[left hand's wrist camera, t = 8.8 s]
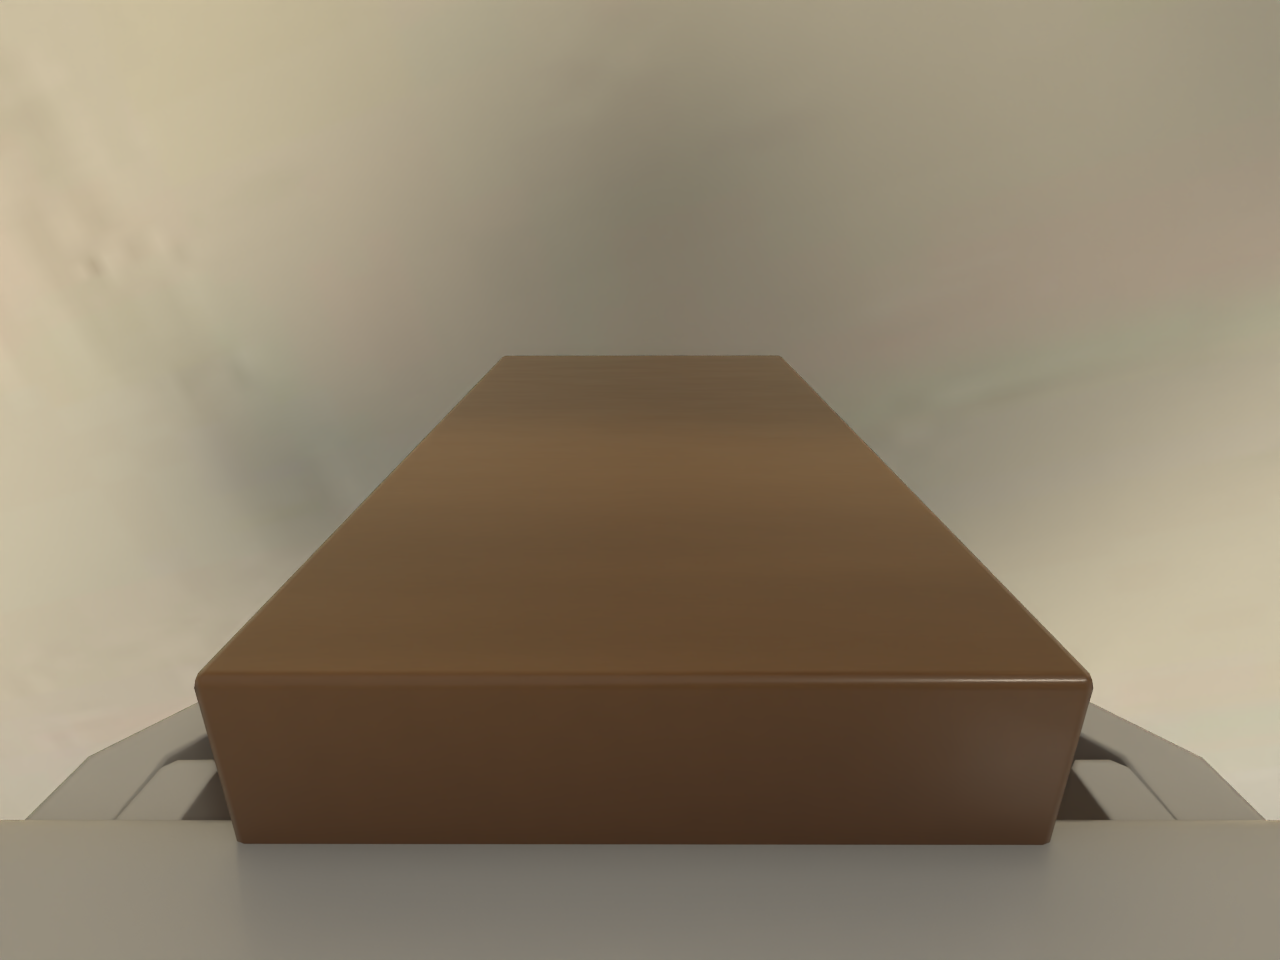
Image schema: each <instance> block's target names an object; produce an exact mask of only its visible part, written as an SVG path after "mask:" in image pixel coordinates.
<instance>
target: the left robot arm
mask: <svg viewBox="0 0 1280 960" xmlns="http://www.w3.org/2000/svg"><path fill="white" fill-rule="evenodd" d="M0 960H1280V820H1265V819H1264V818H1263V817H1262V816H1261V815H1260V814H1259V813H1258V812H1257V811H1256V810H1255V809H1254V808H1253V807H1252V806H1251V805H1250V804H1249V803H1248V802H1247V801H1246V800H1245V799H1244V798H1243V797H1242V796H1241V795H1240V794H1239V793H1238V792H1237V791H1236V790H1235V789H1234V788H1233V787H1232V786H1231V785H1230V784H1229V783H1228V782H1227V781H1225V780H1224V779H1223V778H1222V777H1221V776H1220V775H1219V774H1218V773H1217V772H1216V771H1215V770H1214V769H1213V768H1212V767H1211V766H1210V765H1209V764H1208V763H1207V762H1206V761H1205V760H1204V759H1203V758H1202V757H1200V756H1198V755H1196V754H1193V753H1191V752H1189V751H1187V750H1185V749H1183V748H1181V747H1179V746H1177V745H1175V744H1173V743H1171V742H1169V741H1167V740H1165V739H1163V738H1161V737H1159V736H1157V735H1155V734H1153V733H1151V732H1149V731H1147V730H1145V729H1143V728H1141V727H1139V726H1137V725H1135V724H1133V723H1131V722H1129V721H1127V720H1125V719H1123V718H1121V717H1119V716H1117V715H1115V714H1113V713H1111V712H1109V711H1107V710H1105V709H1103V708H1101V707H1098V706H1096V705H1094V704H1092V703H1090V702H1089V705H1088V708H1087V712H1086V716H1085V719H1084V723H1083V726H1082V730H1081V733H1080V737H1079V740H1078V744H1077V748H1076V751H1075V755H1074V758H1073V762H1072V765H1071V769H1070V772H1069V776H1068V780H1067V783H1066V787H1065V790H1064V794H1063V797H1062V801H1061V804H1060V808H1059V811H1058V815H1057V819H1056V822H1055V826H1054V829H1053V833H1052V836H1051V840H1050V842H1049V843H1047V844H1044V845H686V844H243V843H241V842H238V841H237V839H236V835H235V832H234V828H233V825H232V821H231V817H230V814H229V810H228V807H227V803H226V800H225V796H224V792H223V789H222V785H221V782H220V778H219V775H218V771H217V767H216V764H215V760H214V757H213V753H212V750H211V746H210V742H209V739H208V735H207V732H206V728H205V725H204V721H203V717H202V714H201V710H200V707H199V703H196V704H194V705H192V706H190V707H188V708H186V709H184V710H182V711H180V712H178V713H176V714H174V715H172V716H170V717H168V718H166V719H164V720H162V721H160V722H158V723H156V724H154V725H152V726H150V727H148V728H146V729H144V730H142V731H140V732H138V733H135V734H133V735H131V736H129V737H127V738H125V739H123V740H121V741H119V742H117V743H115V744H113V745H111V746H109V747H107V748H105V749H103V750H101V751H99V752H97V753H95V754H93V755H91V756H89V757H88V758H87V759H86V760H85V761H84V762H83V763H82V764H81V765H80V766H79V767H78V768H77V769H76V770H75V771H74V772H73V773H72V774H71V775H70V776H69V777H68V778H67V779H66V780H65V781H64V782H63V783H62V784H61V785H60V786H59V787H58V788H57V789H56V790H55V791H54V792H53V793H52V794H51V795H50V796H49V797H48V798H47V799H46V800H45V801H44V802H43V803H41V804H40V805H39V806H38V807H37V808H36V809H35V810H34V811H33V812H32V813H31V814H30V815H29V816H28V817H27V818H26V819H25V820H0Z"/></svg>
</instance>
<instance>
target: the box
mask: <svg viewBox="0 0 1280 960" xmlns="http://www.w3.org/2000/svg"><path fill="white" fill-rule="evenodd" d="M194 689H195V692H196V696H197V700H198V703H199V707H200V710H201V714H202V717H203V721H204V725H205V728H206V732H207V735H208V739H209V742H210V746H211V750H212V753H213V757H214V760H215V764H216V767H217V771H218V775H219V778H220V782H221V785H222V789H223V792H224V796H225V800H226V803H227V807H228V810H229V814H230V817H231V821H232V825H233V828H234V832H235V835H236V839H237V841H238V842H241V843H243V844H686V845H1044V844H1047V843H1049V842H1050V840H1051V836H1052V833H1053V829H1054V826H1055V822H1056V819H1057V815H1058V811H1059V808H1060V804H1061V801H1062V797H1063V794H1064V790H1065V787H1066V783H1067V780H1068V776H1069V772H1070V769H1071V765H1072V762H1073V758H1074V755H1075V751H1076V748H1077V744H1078V740H1079V737H1080V733H1081V730H1082V726H1083V723H1084V719H1085V716H1086V712H1087V708H1088V705H1089V701H1090V698H1091V694H1092V691H1093V683H1092V679H1091V676H1090V674H1089V673H1088V672H1087V670H1086V669H1085V668H1084V667H1083V666H1082V665H1081V664H1080V663H1079V662H1078V661H1077V660H1076V659H1075V658H1074V657H1073V656H1072V655H1071V654H1070V653H1069V652H1068V651H1067V650H1066V649H1065V648H1064V647H1063V646H1062V645H1061V644H1060V643H1059V642H1058V641H1057V640H1056V639H1055V638H1054V637H1053V636H1052V635H1051V633H1050V632H1049V631H1048V630H1047V629H1046V628H1045V627H1044V626H1043V625H1042V624H1041V623H1040V622H1039V621H1038V620H1037V619H1036V618H1035V617H1034V616H1033V615H1032V614H1031V613H1030V612H1029V611H1028V610H1027V609H1026V608H1025V607H1024V606H1023V605H1022V604H1021V603H1020V602H1019V601H1018V600H1017V599H1016V598H1015V596H1014V595H1013V594H1012V593H1011V592H1010V591H1009V590H1008V589H1007V588H1006V587H1005V586H1004V585H1003V584H1002V583H1001V582H1000V581H999V580H998V579H997V578H996V577H995V576H994V575H993V574H992V573H991V572H990V571H989V570H988V569H987V568H986V567H985V566H984V565H983V564H982V563H981V562H980V561H979V560H978V558H977V557H976V556H975V555H974V554H973V553H972V552H971V551H970V550H969V549H968V548H967V547H966V546H965V545H964V544H963V543H962V542H961V541H960V540H959V539H958V538H957V537H956V536H955V535H954V534H953V533H952V532H951V531H950V530H949V529H948V528H947V527H946V526H945V525H944V524H943V523H942V521H941V520H940V519H939V518H938V517H937V516H936V515H935V514H934V513H933V512H932V511H931V510H930V509H929V508H928V507H927V506H926V505H925V504H924V503H923V502H922V501H921V500H920V499H919V498H918V497H917V496H916V495H915V494H914V493H913V492H912V491H911V490H910V489H909V488H908V487H907V486H906V484H905V483H904V482H903V481H902V480H901V479H900V478H899V477H898V476H897V475H896V474H895V473H894V472H893V471H892V470H891V469H890V468H889V467H888V466H887V465H886V464H885V463H884V462H883V461H882V460H881V459H880V458H879V457H878V456H877V455H876V454H875V453H874V452H873V451H872V450H871V449H870V448H869V446H868V445H867V444H866V443H865V442H864V441H863V440H862V439H861V438H860V437H859V436H858V435H857V434H856V433H855V432H854V431H853V430H852V429H851V428H850V427H849V426H848V425H847V424H846V423H845V422H844V421H843V420H842V419H841V418H840V417H839V416H838V415H837V414H836V413H835V412H834V411H833V409H832V408H831V407H830V406H829V405H828V404H827V403H826V402H825V401H824V400H823V399H822V398H821V397H820V396H819V395H818V394H817V393H816V392H815V391H814V390H813V389H812V388H811V387H810V386H809V385H808V384H807V383H806V382H805V381H804V380H803V379H802V378H801V377H800V376H799V375H798V374H797V372H796V371H795V370H794V369H793V368H792V367H791V366H790V365H789V364H788V363H787V362H786V361H785V360H784V359H783V358H782V357H780V356H504V357H502V358H501V359H500V360H499V361H498V363H497V364H496V365H495V366H494V367H493V368H492V369H491V370H490V371H489V372H488V373H487V374H486V375H485V376H484V377H483V378H482V379H481V380H480V381H479V382H478V383H477V384H476V385H475V386H474V387H473V388H472V389H471V391H470V392H469V393H468V394H467V395H466V396H465V397H464V398H463V399H462V400H461V401H460V402H459V403H458V404H457V405H456V406H455V407H454V408H453V409H452V410H451V411H450V412H449V413H448V414H447V415H446V416H445V418H444V419H443V420H442V421H441V422H440V423H439V424H438V425H437V426H436V427H435V428H434V429H433V430H432V431H431V432H430V433H429V434H428V435H427V436H426V437H425V438H424V439H423V440H422V441H421V442H420V443H419V445H418V446H417V447H416V448H415V449H414V450H413V451H412V452H411V453H410V454H409V455H408V456H407V457H406V458H405V459H404V460H403V461H402V462H401V463H400V464H399V465H398V466H397V467H396V468H395V469H394V470H393V471H392V473H391V474H390V475H389V476H388V477H387V478H386V479H385V480H384V481H383V482H382V483H381V484H380V485H379V486H378V487H377V488H376V489H375V490H374V491H373V492H372V493H371V494H370V495H369V496H368V497H367V498H366V500H365V501H364V502H363V503H362V504H361V505H360V506H359V507H358V508H357V509H356V510H355V511H354V512H353V513H352V514H351V515H350V516H349V517H348V518H347V519H346V520H345V521H344V522H343V523H342V524H341V525H340V526H339V528H338V529H337V530H336V531H335V532H334V533H333V534H332V535H331V536H330V537H329V538H328V539H327V540H326V541H325V542H324V543H323V544H322V545H321V546H320V547H319V548H318V549H317V550H316V551H315V552H314V553H313V555H312V556H311V557H310V558H309V559H308V560H307V561H306V562H305V563H304V564H303V565H302V566H301V567H300V568H299V569H298V570H297V571H296V572H295V573H294V574H293V575H292V576H291V577H290V578H289V579H288V580H287V582H286V583H285V584H284V585H283V586H282V587H281V588H280V589H279V590H278V591H277V592H276V593H275V594H274V595H273V596H272V597H271V598H270V599H269V600H268V601H267V602H266V603H265V604H264V605H263V606H262V607H261V608H260V610H259V611H258V612H257V613H256V614H255V615H254V616H253V617H252V618H251V619H250V620H249V621H248V622H247V623H246V624H245V625H244V626H243V627H242V628H241V629H240V630H239V631H238V632H237V633H236V634H235V635H234V637H233V638H232V639H231V640H230V641H229V642H228V643H227V644H226V645H225V646H224V647H223V648H222V649H221V650H220V651H219V652H218V653H217V654H216V655H215V656H214V657H213V658H212V659H211V660H210V661H209V662H208V664H207V665H206V666H205V667H204V668H203V669H202V670H201V671H200V672H199V673H198V675H197V677H196V680H195V687H194Z"/></svg>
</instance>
